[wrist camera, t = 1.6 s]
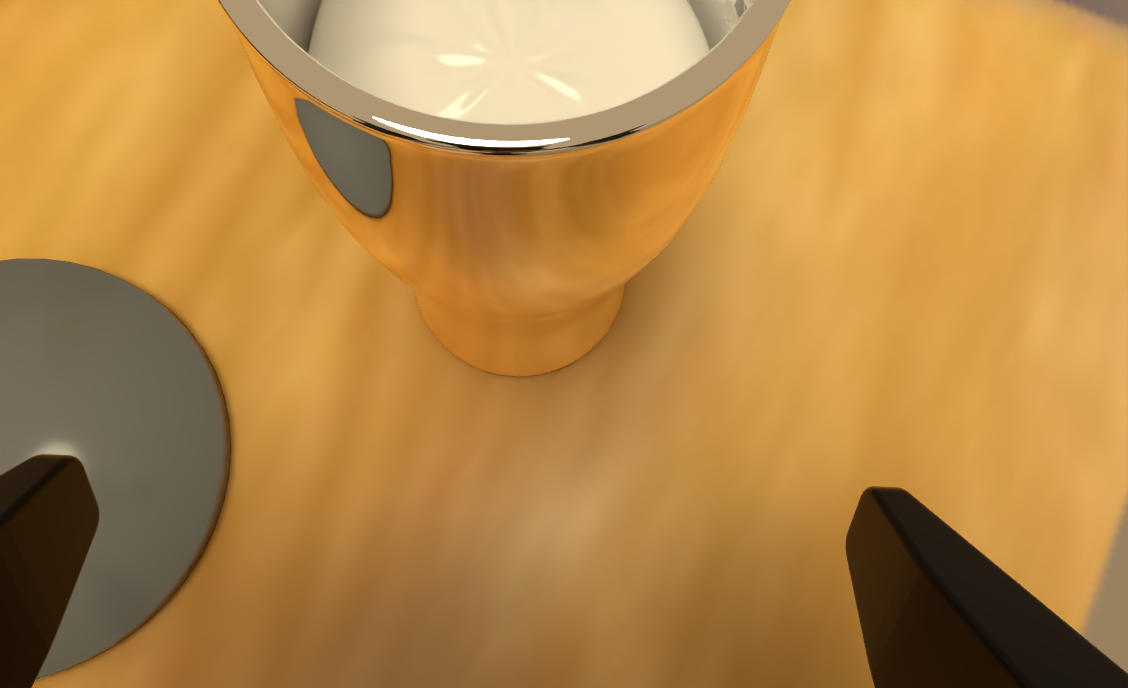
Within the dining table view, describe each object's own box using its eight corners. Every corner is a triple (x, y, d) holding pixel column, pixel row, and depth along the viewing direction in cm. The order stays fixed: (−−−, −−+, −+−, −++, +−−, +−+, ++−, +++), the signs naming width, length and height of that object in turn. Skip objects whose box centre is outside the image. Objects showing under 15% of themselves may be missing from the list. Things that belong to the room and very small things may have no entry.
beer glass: (576, 125, 24) (656, -488, 9) (681, 331, 23) (965, 12, 8) (359, 215, 23) (59, -301, 8) (457, 434, 22) (313, 291, 7)
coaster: (306, 517, 21) (300, 518, 21) (-82, 776, 20) (-101, 784, 19) (107, 193, 23) (95, 185, 22) (-270, 407, 21) (-293, 405, 20)
